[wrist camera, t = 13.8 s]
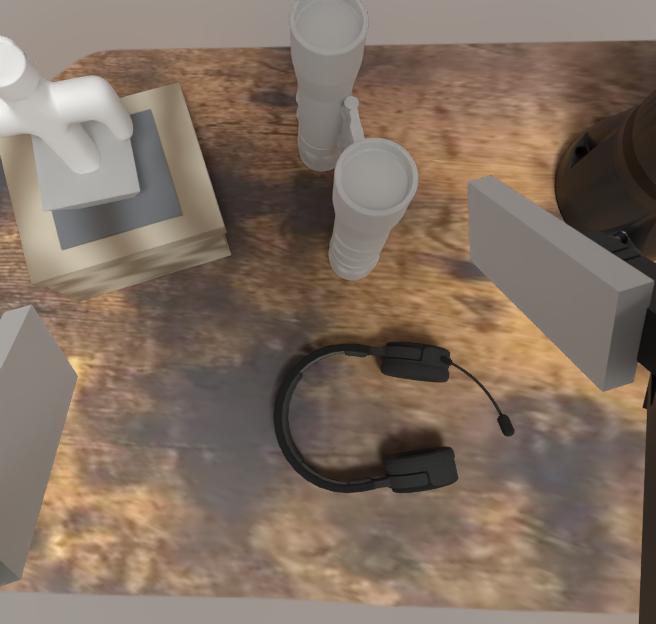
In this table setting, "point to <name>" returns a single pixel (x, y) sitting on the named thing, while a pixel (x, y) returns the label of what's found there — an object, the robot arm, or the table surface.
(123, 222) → the bridge shelf
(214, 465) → the table surface
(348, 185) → the binoculars
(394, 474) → the headset
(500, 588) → the table surface
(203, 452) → the table surface
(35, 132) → the figurine
